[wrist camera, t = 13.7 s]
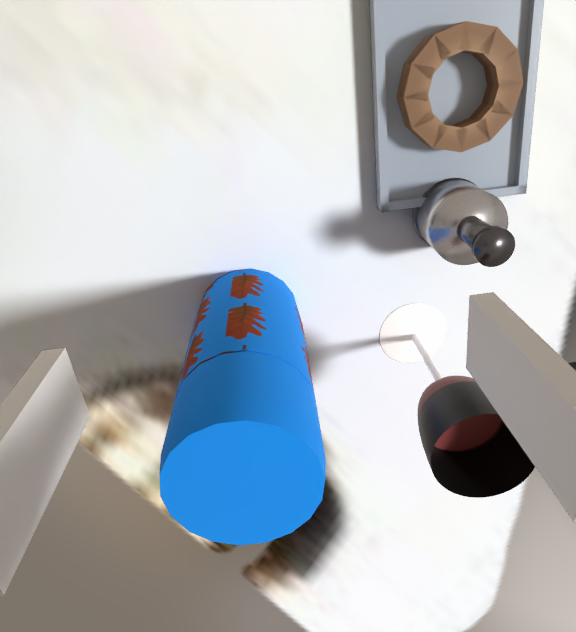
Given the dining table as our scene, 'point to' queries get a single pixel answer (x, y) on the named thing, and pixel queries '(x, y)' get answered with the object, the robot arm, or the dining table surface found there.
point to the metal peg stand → (464, 223)
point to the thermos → (244, 418)
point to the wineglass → (455, 413)
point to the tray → (449, 98)
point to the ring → (499, 93)
